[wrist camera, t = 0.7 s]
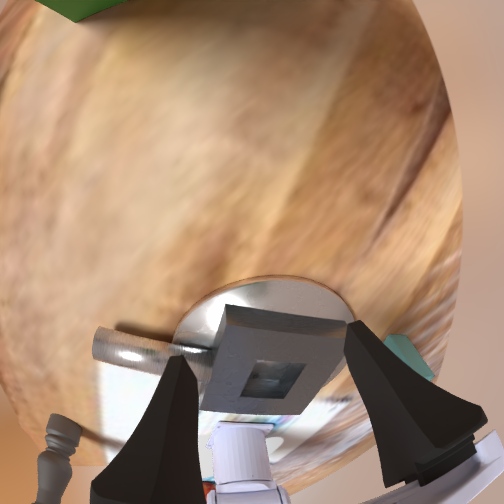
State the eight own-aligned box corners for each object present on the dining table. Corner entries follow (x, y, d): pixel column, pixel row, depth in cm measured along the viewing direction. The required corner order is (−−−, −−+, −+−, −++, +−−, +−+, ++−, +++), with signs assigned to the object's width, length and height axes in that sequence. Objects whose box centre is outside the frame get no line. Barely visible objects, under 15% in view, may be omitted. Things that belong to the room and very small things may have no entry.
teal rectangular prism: (388, 358, 29) (413, 399, 23) (371, 359, 28) (396, 403, 22) (405, 335, 27) (434, 375, 21) (388, 334, 27) (418, 378, 20)
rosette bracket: (308, 404, 31) (316, 428, 27) (110, 380, 25) (103, 407, 22) (382, 292, 24) (403, 317, 20) (106, 235, 18) (85, 259, 15)
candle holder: (70, 432, 32) (52, 542, 9) (44, 414, 29) (18, 528, 7) (88, 431, 31) (72, 553, 9) (61, 412, 28) (35, 541, 6)
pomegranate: (223, 474, 47) (203, 490, 39) (233, 497, 44) (214, 514, 35) (198, 475, 49) (176, 489, 40) (207, 497, 46) (186, 512, 37)
